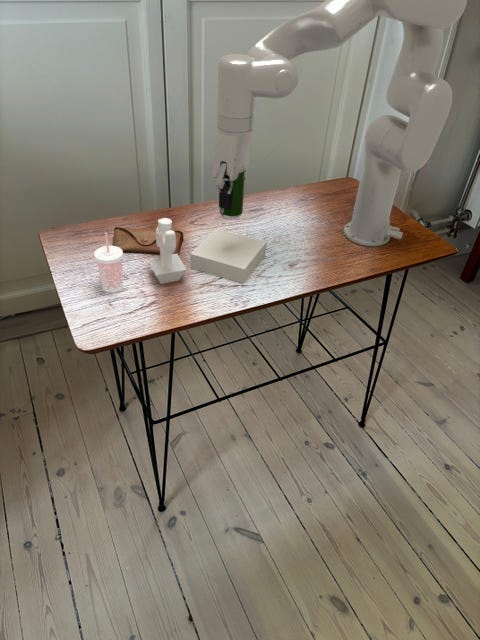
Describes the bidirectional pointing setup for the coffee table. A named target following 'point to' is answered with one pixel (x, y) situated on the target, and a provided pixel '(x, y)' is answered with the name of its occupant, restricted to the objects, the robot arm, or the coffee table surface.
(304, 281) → the coffee table surface
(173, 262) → the figurine
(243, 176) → the beer can
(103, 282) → the beverage cup
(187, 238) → the coffee table surface
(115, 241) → the sunglasses case
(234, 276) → the riser block
